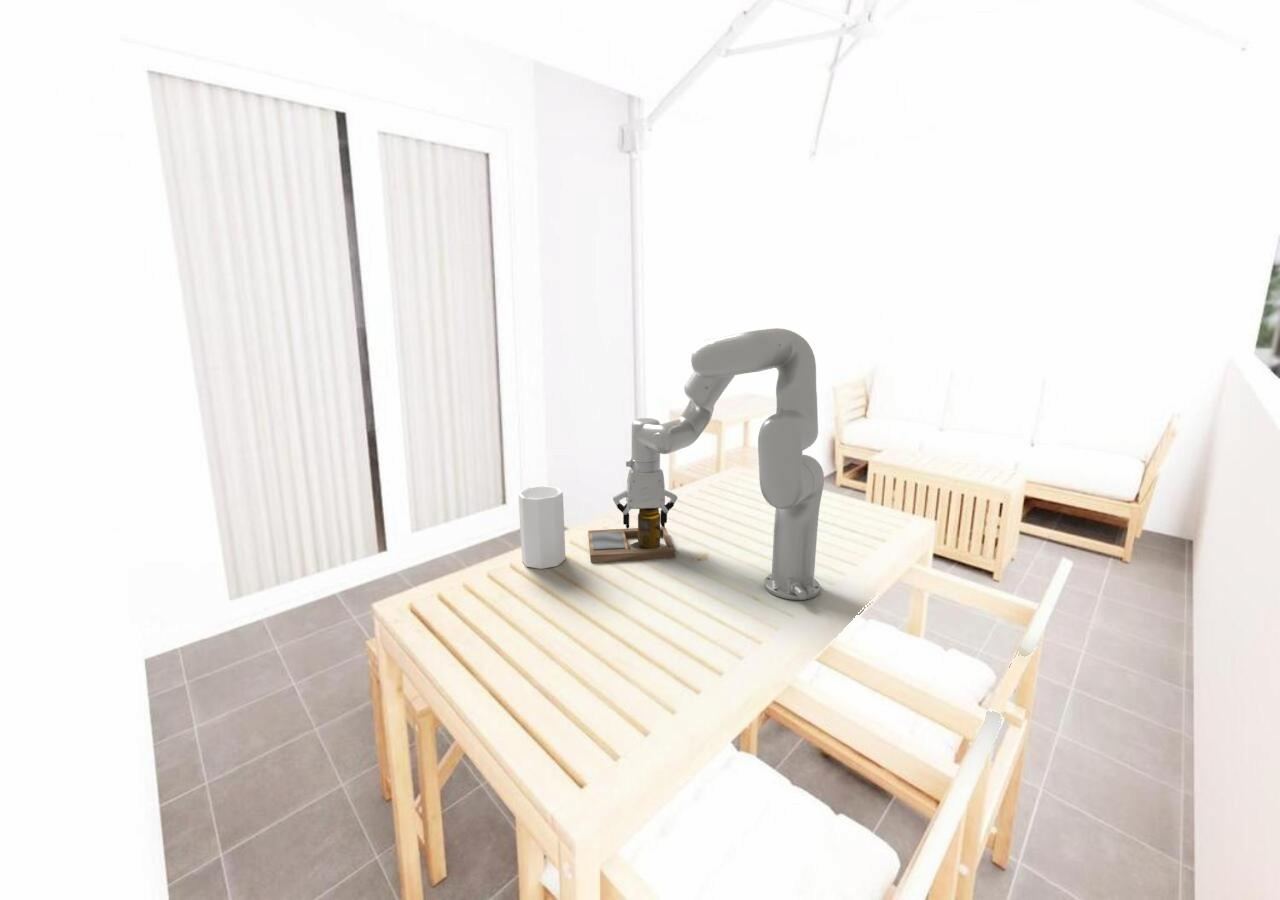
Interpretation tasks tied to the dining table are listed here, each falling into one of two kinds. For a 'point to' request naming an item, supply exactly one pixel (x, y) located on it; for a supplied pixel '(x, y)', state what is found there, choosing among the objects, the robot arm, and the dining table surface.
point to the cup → (542, 526)
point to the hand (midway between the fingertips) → (644, 526)
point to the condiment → (648, 530)
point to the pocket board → (624, 546)
